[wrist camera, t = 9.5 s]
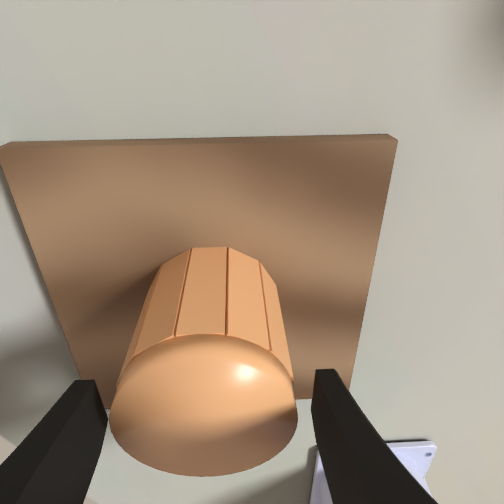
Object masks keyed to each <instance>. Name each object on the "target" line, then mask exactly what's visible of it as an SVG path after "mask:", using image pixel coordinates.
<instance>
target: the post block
mask: <svg viewBox="0 0 504 504" xmlns="http://www.w3.org/2000/svg"><path fill="white" fill-rule="evenodd" d="M397 143H398V140H397V139H395V138H394V137H392V136H390V135H388V134H362V135H315V136H267V137H219V138H171V139H124V140H76V141H28V142H9V143H7V144H5V145H2V146H0V164H1V167H2V169H3V172H4V175H5V177H6V180H7V183H8V185H9V188H10V191H11V193H12V196H13V199H14V201H15V204H16V207H17V209H18V212H19V215H20V217H21V220H22V223H23V225H24V228H25V231H26V233H27V236H28V239H29V241H30V244H31V247H32V249H33V252H34V255H35V257H36V260H37V263H38V265H39V268H40V271H41V273H42V276H43V279H44V281H45V284H46V287H47V289H48V292H49V295H50V297H51V300H52V303H53V305H54V308H55V311H56V313H57V316H58V319H59V321H60V324H61V327H62V329H63V332H64V335H65V337H66V340H67V343H68V345H69V348H70V351H71V353H72V356H73V359H74V361H75V364H76V367H77V369H78V372H79V375H80V377H81V380H92V379H95V382H96V385H97V388H98V391H99V394H100V397H101V400H102V403H103V405H104V408H105V409H111V406H112V403H113V400H114V397H115V394H116V391H117V389H116V384H117V381H118V379H119V376H120V373H121V370H122V367H123V364H124V361H125V358H126V355H127V352H128V349H129V346H130V343H131V340H132V337H133V334H134V331H135V328H136V325H137V323H138V320H139V317H140V314H141V311H142V308H143V305H144V302H145V299H146V296H147V293H148V290H149V288H150V286H151V284H152V282H153V280H154V278H155V276H156V274H157V272H158V270H159V268H160V266H162V264H163V263H165V262H167V261H169V260H171V259H172V258H174V257H176V256H178V255H179V254H181V253H183V252H185V251H187V250H188V249H191V250H192V248H205V247H227V250H228V248H229V247H230V248H232V249H234V250H236V251H238V252H241V253H243V254H245V255H247V256H249V257H251V258H254V259H256V260H258V261H259V262H260V263H261V264H262V265H263V267H264V268H265V270H266V271H267V273H268V274H269V276H270V277H271V278H272V280H273V281H274V283H275V284H276V287H277V292H278V297H279V303H280V308H281V313H282V319H283V324H284V329H285V335H286V340H287V345H288V350H289V356H290V361H291V366H292V372H293V377H294V384H293V391H294V397H295V400H296V399H312V395H313V387H314V378H315V370H316V369H335V370H336V371H337V372H338V374H339V376H340V378H341V379H342V381H343V383H344V384H345V386H346V387H347V389H348V391H349V388H350V383H351V378H352V372H353V367H354V362H355V357H356V352H357V347H358V342H359V337H360V332H361V327H362V321H363V316H364V311H365V306H366V301H367V296H368V291H369V286H370V281H371V276H372V270H373V265H374V260H375V255H376V250H377V245H378V240H379V235H380V230H381V225H382V219H383V214H384V209H385V204H386V199H387V194H388V189H389V184H390V179H391V173H392V168H393V163H394V158H395V153H396V148H397Z"/></svg>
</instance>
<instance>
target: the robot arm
mask: <svg viewBox="0 0 504 504" xmlns="http://www.w3.org/2000/svg"><path fill="white" fill-rule="evenodd" d="M311 413H312V419H313V426H314V432H315V438H316V443H317V447H318V451H317V457H316V464H315V470H314V477H313V484H312V491H311V498H310V504H438V503H437V502H436V501H435V500H434V499H433V497H432V495H431V492H430V490H429V488H428V486H427V483H426V481H425V479H424V477H425V474H426V472H427V470H428V468H429V465H430V463H431V461H432V459H433V456H434V454H435V452H436V450H437V447H436V445H435V443H434V442H432V441H415V442H398V443H385V442H384V440H383V439H382V438H381V436H380V435H379V434H378V432H377V431H376V430H375V428H374V427H373V425H372V424H371V423H370V421H369V420H368V419H367V417H366V416H365V414H364V413H363V412H362V410H361V409H360V407H359V406H358V404H357V403H356V401H355V400H354V398H353V397H352V395H351V394H350V392H349V391H348V389H347V387H346V386H345V384H344V383H343V381H342V379H341V378H340V376H339V374H338V372H337V371H336V370H335V369H316V370H315V378H314V387H313V395H312V404H311ZM107 423H108V417H107V414H106V411H105V408H104V405H103V403H102V400H101V397H100V394H99V391H98V388H97V385H96V382H95V379H92V380H75V381H74V382H73V383H72V384H71V386H70V387H69V388H68V389H67V390H66V391H65V393H64V394H63V395H62V396H61V397H60V399H59V400H58V401H57V402H56V403H55V404H54V406H53V407H52V408H51V409H50V410H49V412H48V413H47V414H46V415H45V416H44V417H43V419H42V420H41V421H40V422H39V423H38V424H37V425H36V427H35V428H34V429H33V430H32V431H31V432H30V433H29V435H28V436H27V437H26V438H25V439H24V440H23V441H22V442H21V444H20V445H19V446H18V447H17V448H16V449H15V450H14V451H13V452H12V453H11V455H10V456H9V457H8V458H7V459H6V460H5V461H4V462H3V463H2V464H1V465H0V504H83V502H84V499H85V497H86V494H87V491H88V488H89V485H90V482H91V479H92V477H93V474H94V471H95V468H96V465H97V462H98V459H99V456H100V453H101V449H102V445H103V441H104V436H105V432H106V427H107Z"/></svg>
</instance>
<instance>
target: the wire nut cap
mask: <svg viewBox="0 0 504 504" xmlns="http://www.w3.org/2000/svg"><path fill="white" fill-rule="evenodd" d="M293 384H294V377H293V372H292V366H291V361H290V356H289V350H288V345H287V340H286V335H285V329H284V324H283V319H282V313H281V308H280V303H279V297H278V292H277V287H276V284H275V283H274V281H273V280H272V278H271V277H270V276H269V274H268V273H267V271H266V270H265V268H264V267H263V265H262V264H261V263H260V262H259V261H258V260H256V259H254V258H251V257H249V256H247V255H245V254H243V253H241V252H238V251H236V250H234V249H232V248H230V247H229V248H228V250H227V247H205V248H192V250H191V249H188V250H187V251H185V252H183V253H181V254H179V255H178V256H176V257H174V258H172V259H171V260H169V261H167V262H165V263H163V264H162V266H160V268H159V270H158V272H157V274H156V276H155V278H154V280H153V282H152V284H151V286H150V288H149V290H148V293H147V296H146V299H145V302H144V305H143V308H142V311H141V314H140V317H139V320H138V323H137V325H136V328H135V331H134V334H133V337H132V340H131V343H130V346H129V349H128V352H127V355H126V358H125V361H124V364H123V367H122V370H121V373H120V376H119V379H118V381H117V384H116V389H117V391H116V394H115V397H114V400H113V403H112V406H111V410H110V415H109V424H110V428H111V432H112V434H113V436H114V438H115V440H116V441H117V443H118V444H119V445H120V446H121V447H122V448H123V449H124V451H125V452H127V453H128V454H129V455H130V456H132V457H133V458H135V459H136V460H138V461H140V462H141V463H143V464H146V465H148V466H150V467H152V468H155V469H158V470H161V471H165V472H168V473H173V474H178V475H185V476H199V477H205V476H221V475H227V474H233V473H237V472H241V471H245V470H248V469H251V468H253V467H256V466H258V465H260V464H263V463H264V462H266V461H268V460H270V459H271V458H273V457H274V456H276V455H277V454H278V453H279V452H281V451H282V450H283V449H284V448H285V447H286V446H287V444H288V443H289V442H290V440H291V439H292V437H293V435H294V433H295V431H296V428H297V422H298V413H297V408H296V402H295V397H294V391H293Z"/></svg>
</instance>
